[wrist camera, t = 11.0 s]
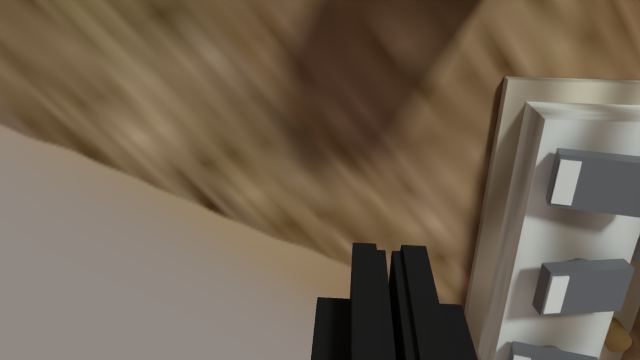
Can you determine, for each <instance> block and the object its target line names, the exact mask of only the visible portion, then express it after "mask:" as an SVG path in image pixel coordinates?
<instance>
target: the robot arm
mask: <svg viewBox="0 0 640 360" xmlns="http://www.w3.org/2000/svg"><path fill="white" fill-rule="evenodd" d="M311 360H478V358H477V355H476V351H475V348H474V345H473V341H472V338H471V334H470V331H469V328H468V324H467V321H466V317H465V314H464V311H463V308H462V306H461V305H455V304H439V300H438V296H437V292H436V287H435V283H434V279H433V274H432V270H431V266H430V261H429V257H428V253H427V249H426V246H413V245H401V249H400V251H392V255H391V265H390V276H389V283H388V273H387V263H386V253H385V250H377V247H376V244H371V243H353V248H352V267H351V287H350V299H342V298H321V297H318V299H317V306H316V316H315V325H314V336H313V344H312V354H311Z"/></svg>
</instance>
